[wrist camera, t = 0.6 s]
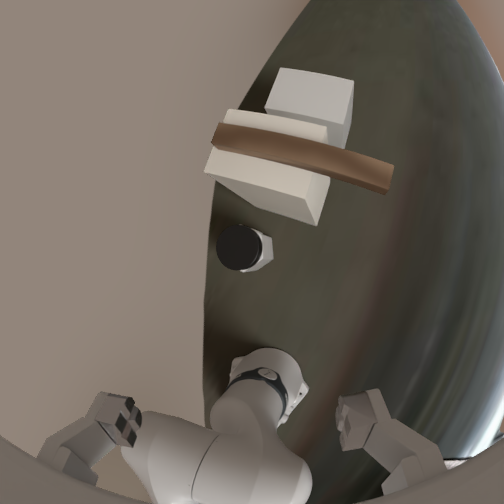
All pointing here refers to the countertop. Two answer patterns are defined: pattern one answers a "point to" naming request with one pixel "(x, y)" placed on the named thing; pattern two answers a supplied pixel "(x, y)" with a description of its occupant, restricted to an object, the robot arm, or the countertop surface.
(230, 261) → the jar
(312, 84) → the low stand
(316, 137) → the tall stand
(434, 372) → the countertop surface
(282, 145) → the bar
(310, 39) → the countertop surface
